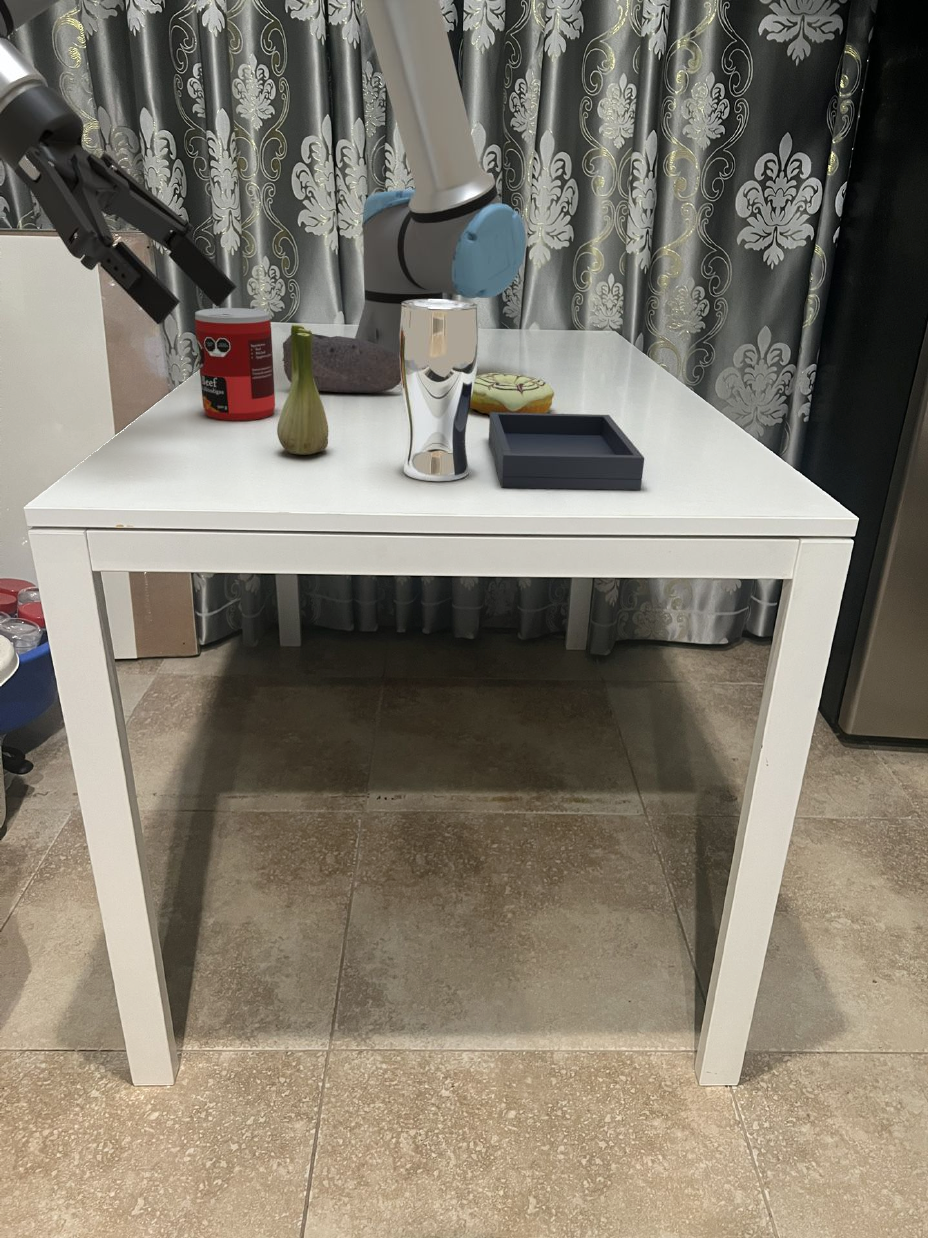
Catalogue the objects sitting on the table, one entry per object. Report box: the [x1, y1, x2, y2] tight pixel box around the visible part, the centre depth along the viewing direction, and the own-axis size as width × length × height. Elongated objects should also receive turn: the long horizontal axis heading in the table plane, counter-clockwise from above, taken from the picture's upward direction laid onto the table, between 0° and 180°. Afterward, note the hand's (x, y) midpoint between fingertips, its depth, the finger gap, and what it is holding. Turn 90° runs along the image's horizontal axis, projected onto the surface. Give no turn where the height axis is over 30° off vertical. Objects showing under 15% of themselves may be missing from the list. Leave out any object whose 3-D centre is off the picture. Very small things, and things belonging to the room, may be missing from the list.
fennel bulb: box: [276, 324, 329, 455], centre depth 86 cm, size 6×5×12 cm
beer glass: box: [399, 298, 479, 482], centre depth 81 cm, size 7×7×15 cm
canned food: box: [194, 307, 276, 422], centre depth 101 cm, size 8×8×11 cm
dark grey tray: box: [488, 412, 645, 491], centre depth 88 cm, size 17×13×3 cm
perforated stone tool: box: [281, 333, 401, 394], centre depth 114 cm, size 15×5×7 cm, turn 84°
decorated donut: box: [470, 372, 555, 416], centre depth 108 cm, size 10×11×4 cm
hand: (200, 304), depth 84 cm, fingers open, 13 cm apart
